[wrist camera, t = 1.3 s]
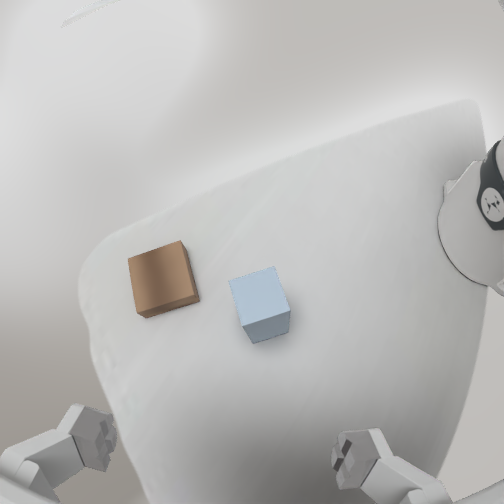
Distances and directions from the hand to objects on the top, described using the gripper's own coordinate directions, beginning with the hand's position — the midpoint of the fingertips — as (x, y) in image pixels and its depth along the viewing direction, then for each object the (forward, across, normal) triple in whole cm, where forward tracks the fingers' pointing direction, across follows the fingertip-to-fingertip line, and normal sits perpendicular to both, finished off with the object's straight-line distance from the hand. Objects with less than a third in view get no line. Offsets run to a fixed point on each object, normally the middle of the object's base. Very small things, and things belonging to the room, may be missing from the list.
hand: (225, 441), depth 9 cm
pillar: (+24, -4, +7) cm, 25 cm away
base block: (+28, +8, +5) cm, 30 cm away
